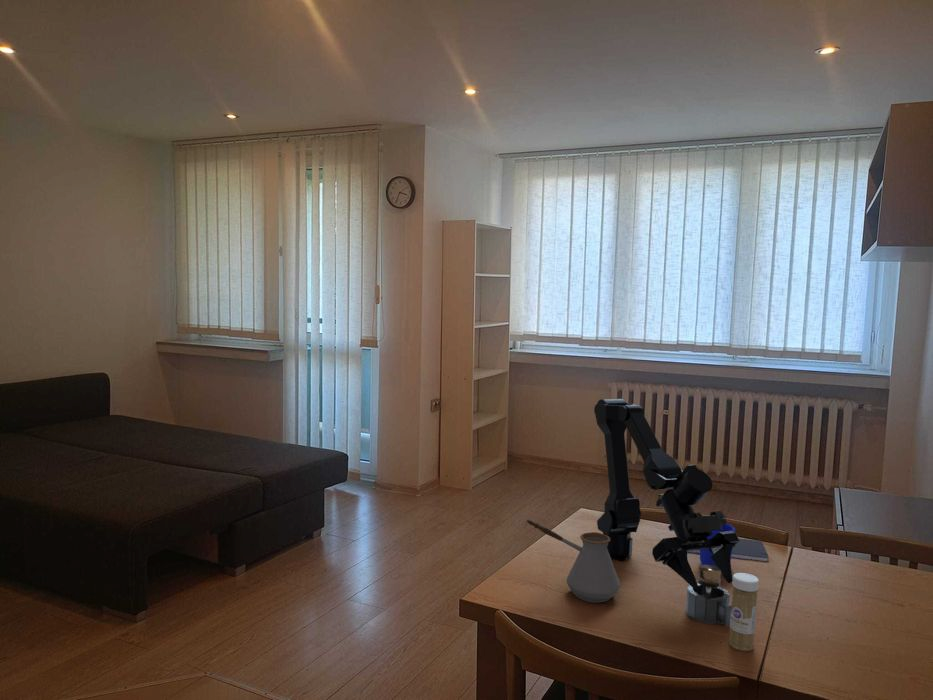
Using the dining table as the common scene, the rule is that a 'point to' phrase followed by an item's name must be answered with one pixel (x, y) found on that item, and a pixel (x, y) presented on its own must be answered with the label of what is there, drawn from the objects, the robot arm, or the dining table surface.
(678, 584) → the dining table surface
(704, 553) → the mug
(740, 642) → the sprinkles bottle
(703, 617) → the press body
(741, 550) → the notebook
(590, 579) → the coffee pot
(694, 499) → the robot arm
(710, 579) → the plunger
